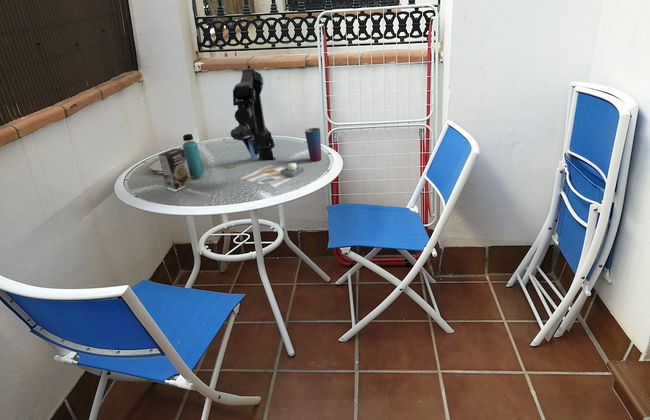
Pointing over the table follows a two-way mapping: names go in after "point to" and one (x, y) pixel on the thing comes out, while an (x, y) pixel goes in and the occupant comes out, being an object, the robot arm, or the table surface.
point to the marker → (252, 151)
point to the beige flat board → (268, 176)
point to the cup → (314, 143)
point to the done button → (291, 167)
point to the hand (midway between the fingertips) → (254, 154)
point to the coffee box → (175, 168)
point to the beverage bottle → (192, 156)
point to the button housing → (292, 174)
